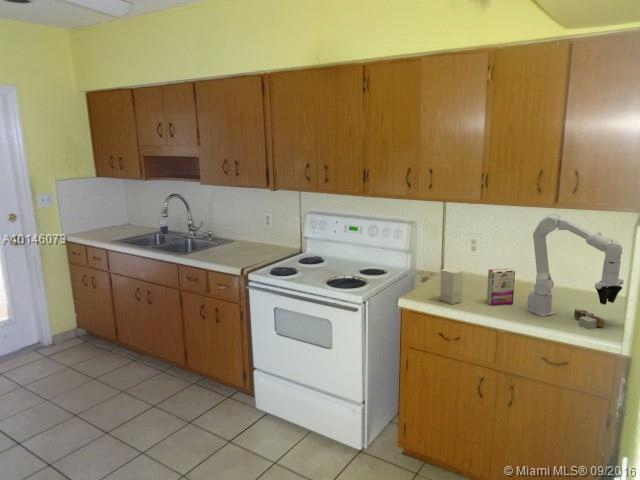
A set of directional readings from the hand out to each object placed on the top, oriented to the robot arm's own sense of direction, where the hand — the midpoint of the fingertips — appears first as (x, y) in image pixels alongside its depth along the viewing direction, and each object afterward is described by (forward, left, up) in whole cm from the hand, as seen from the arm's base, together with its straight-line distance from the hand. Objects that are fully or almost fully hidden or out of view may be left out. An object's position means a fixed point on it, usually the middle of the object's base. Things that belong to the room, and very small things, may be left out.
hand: (606, 303), depth 191 cm
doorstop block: (-1, -8, -10) cm, 13 cm away
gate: (-4, -5, -9) cm, 11 cm away
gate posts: (-6, -3, -9) cm, 12 cm away
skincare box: (-49, -40, -10) cm, 64 cm away
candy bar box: (-37, -21, -10) cm, 44 cm away
